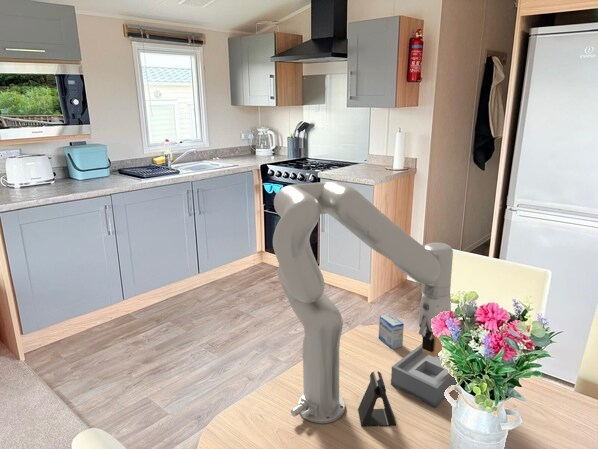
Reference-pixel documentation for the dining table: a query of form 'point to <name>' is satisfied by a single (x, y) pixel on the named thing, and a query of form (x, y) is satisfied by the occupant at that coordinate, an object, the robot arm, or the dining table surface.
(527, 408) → the dining table surface
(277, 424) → the dining table surface
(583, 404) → the dining table surface
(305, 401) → the robot arm
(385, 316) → the medicine box
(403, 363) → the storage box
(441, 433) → the dining table surface
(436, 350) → the peg
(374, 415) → the black triangular stand
